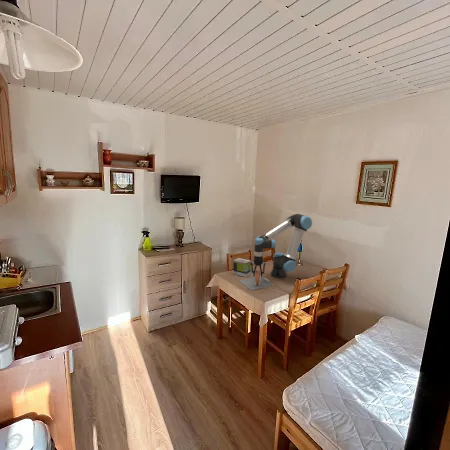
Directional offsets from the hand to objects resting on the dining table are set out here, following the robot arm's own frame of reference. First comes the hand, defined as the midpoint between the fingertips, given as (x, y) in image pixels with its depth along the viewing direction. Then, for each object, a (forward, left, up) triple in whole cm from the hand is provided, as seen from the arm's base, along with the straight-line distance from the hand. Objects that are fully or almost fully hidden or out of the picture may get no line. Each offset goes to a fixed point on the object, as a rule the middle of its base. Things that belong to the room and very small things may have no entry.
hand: (257, 280), depth 228 cm
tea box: (-1, -29, -5) cm, 29 cm away
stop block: (-11, -2, -5) cm, 12 cm away
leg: (-2, -3, -4) cm, 6 cm away
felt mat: (-2, -5, -5) cm, 7 cm away
